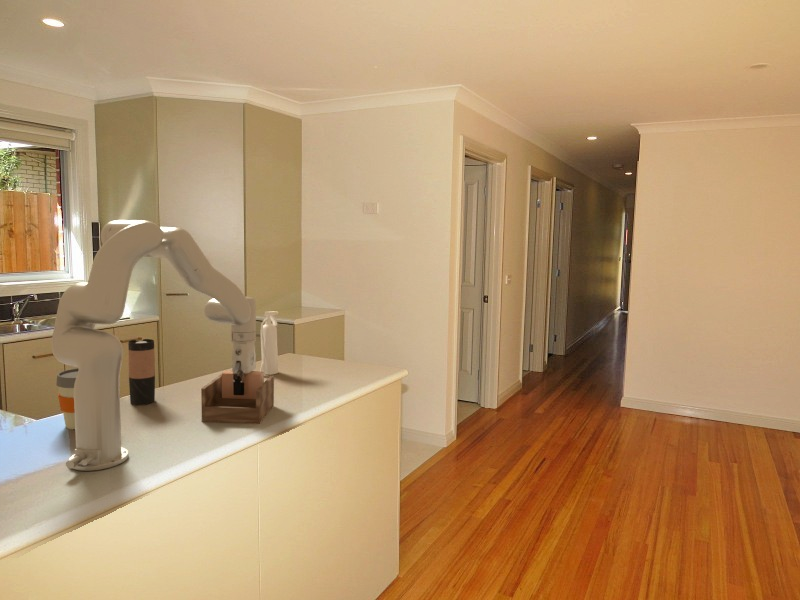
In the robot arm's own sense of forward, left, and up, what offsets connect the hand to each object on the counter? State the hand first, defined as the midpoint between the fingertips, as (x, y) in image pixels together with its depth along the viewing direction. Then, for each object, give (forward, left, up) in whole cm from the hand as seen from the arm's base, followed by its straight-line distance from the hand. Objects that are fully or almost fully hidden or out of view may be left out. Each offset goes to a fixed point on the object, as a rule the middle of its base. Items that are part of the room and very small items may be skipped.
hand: (243, 390), depth 172 cm
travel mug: (+4, +34, -6) cm, 35 cm away
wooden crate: (-4, 0, -6) cm, 7 cm away
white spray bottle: (+46, +4, -6) cm, 47 cm away
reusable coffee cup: (-18, +40, -6) cm, 44 cm away
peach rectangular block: (0, 0, -5) cm, 5 cm away
